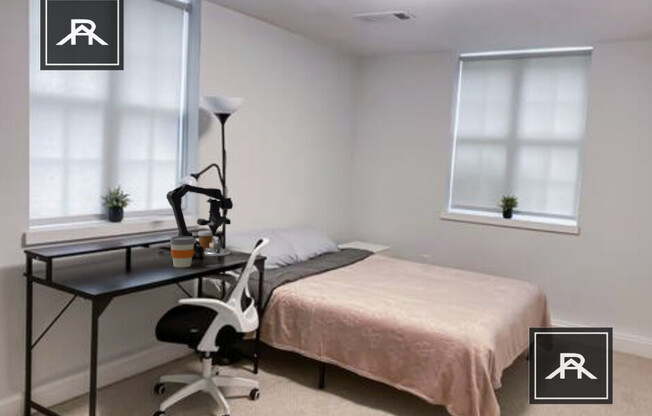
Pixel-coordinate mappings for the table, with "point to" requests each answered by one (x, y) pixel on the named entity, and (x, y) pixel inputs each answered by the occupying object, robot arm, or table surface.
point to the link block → (213, 245)
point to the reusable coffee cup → (182, 250)
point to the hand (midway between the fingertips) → (213, 235)
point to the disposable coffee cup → (205, 239)
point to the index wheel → (217, 250)
